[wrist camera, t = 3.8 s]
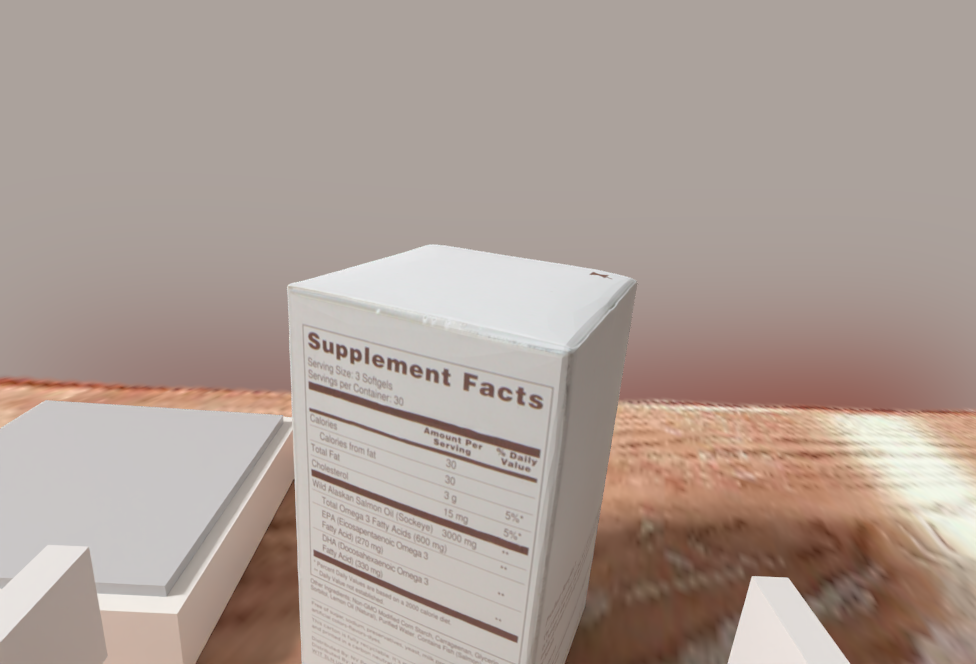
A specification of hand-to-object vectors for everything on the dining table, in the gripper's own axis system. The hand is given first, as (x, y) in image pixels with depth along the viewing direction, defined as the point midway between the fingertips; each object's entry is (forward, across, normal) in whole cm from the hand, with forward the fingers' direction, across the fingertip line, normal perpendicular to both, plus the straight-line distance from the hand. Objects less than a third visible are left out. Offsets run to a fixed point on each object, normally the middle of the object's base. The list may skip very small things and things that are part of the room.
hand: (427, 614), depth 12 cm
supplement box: (+6, +1, -7) cm, 9 cm away
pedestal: (+10, -13, -7) cm, 18 cm away
